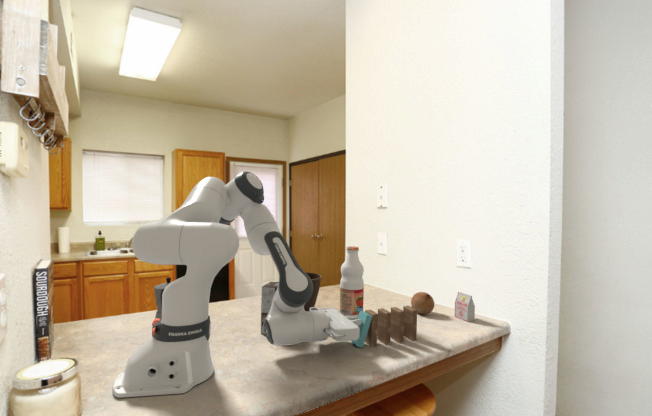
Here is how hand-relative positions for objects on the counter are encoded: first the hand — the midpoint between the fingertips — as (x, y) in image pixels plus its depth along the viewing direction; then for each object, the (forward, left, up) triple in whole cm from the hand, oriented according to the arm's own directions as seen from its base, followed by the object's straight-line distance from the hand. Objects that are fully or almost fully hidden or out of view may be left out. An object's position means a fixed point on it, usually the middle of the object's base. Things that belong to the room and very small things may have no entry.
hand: (359, 320), depth 106 cm
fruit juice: (+9, +25, -8) cm, 27 cm away
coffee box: (-23, +21, -8) cm, 32 cm away
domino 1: (+4, 0, -8) cm, 8 cm away
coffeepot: (-58, +32, -8) cm, 67 cm away
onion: (+40, +21, -8) cm, 46 cm away
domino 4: (+19, 0, -8) cm, 20 cm away
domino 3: (+14, 0, -8) cm, 16 cm away
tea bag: (+52, +10, -8) cm, 53 cm away
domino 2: (+9, 0, -8) cm, 12 cm away
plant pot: (-9, +33, -8) cm, 35 cm away
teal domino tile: (-1, 0, -7) cm, 7 cm away
